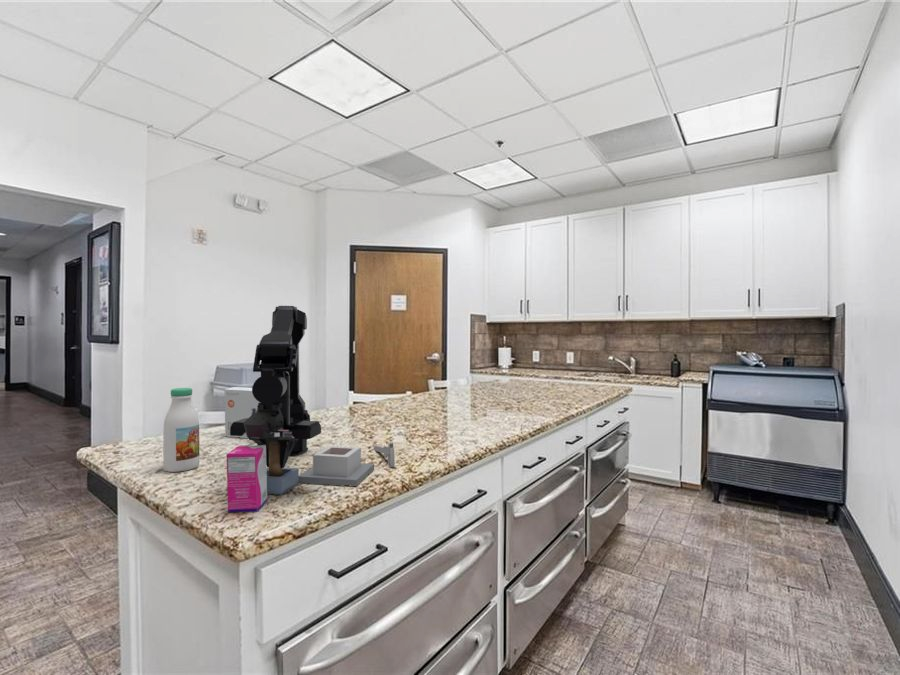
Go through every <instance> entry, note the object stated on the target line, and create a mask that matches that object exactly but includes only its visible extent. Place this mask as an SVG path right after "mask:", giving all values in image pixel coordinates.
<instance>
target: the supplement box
mask: <svg viewBox="0 0 900 675" xmlns="http://www.w3.org/2000/svg"><path fill="white" fill-rule="evenodd" d="M267 468H268V467H267V465H266V445H257V444H256V445H237V446H236V447H235V448H233V449H232V450H231V451H229V452H227V453H226V483H227V484H226V485H227V486H226V487H227V494H226V495H227V512H228V513H245V512H246V513H247V512H248V513H251V512H252V511H253V513H254V512H255V511H256V512H257V511H258V512H259V511H260V510H259V509H261V508H262V507H263V506H264V505H265V504H266V502H268V494H267ZM256 512H255V513H256Z"/></svg>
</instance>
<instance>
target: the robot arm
mask: <svg viewBox="0 0 900 675" xmlns="http://www.w3.org/2000/svg"><path fill="white" fill-rule="evenodd" d="M271 314H272V315H271V316H272V318H271V330H270V332H269V333H267V334H264V335H263V336H261V339H260V341H259V344H257V345H256V347H255V355H254V361H253V367H252V372H253V373H260V377H258V378H257V379H256V380H255V381H254V383H253V384H252V387H251V388H252V393H253V396H254V398H255V399H256V400H257V401H259V402H260V403H258V406H257V412H256V413H254V414H253V415H251V416H250V417H249V418H245V419H241V420H238V421H235V422H233V423H232V425H231V426H230V436H243V435H244V434H245V433H246V435H247V437H248V440H249V441H253V442H254V443H255V444H256V445H266V467H267V468H269V438H270V437H274V435H275V432H276V433H280V437H282V438H280V439H278V442H279V444H280V468H286V467H285V466H286V465H287V462H288V460H289V457H290V456H299V455H301V454H302V453H304V452H306V451H308V450H309V447H308V440H310V439H313V438H314V437H316V436H318V435H320V434H322V426H321V424H320V422H319V421H318V420H311V415H310V414H309V412H308V410H307V409H306V402H305V400H304V399H303V397H302V396H301V394H300V351H299V350H300V343H301V341H302V339H303V338H304V337H305V334H306V332H305V331H306V330H307V328H308V317H307V314H306V312H305V311H302V310H300V309H298V307H297V306H294V305H278V306H275V308H274V311H273V312H272V313H271Z"/></svg>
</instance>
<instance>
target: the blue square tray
mask: <svg viewBox="0 0 900 675" xmlns="http://www.w3.org/2000/svg"><path fill="white" fill-rule="evenodd" d="M299 469H300V468H296V467H284V468H282V476H281V477H274V476H269V467H267V495H271V494H275V495H274V496H283V495H285V494H286V493H288V492H289V491H291V490H292V489H294V488H295V487H296V486H298V485H299V484H300V483H299V475H300V473H299V472H300V470H299ZM297 484H298V485H297ZM294 486H295V487H294ZM291 488H292V489H291ZM288 490H289V491H288ZM284 493H285V494H284Z"/></svg>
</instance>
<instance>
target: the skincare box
mask: <svg viewBox="0 0 900 675" xmlns="http://www.w3.org/2000/svg"><path fill="white" fill-rule="evenodd" d="M258 403H260V402H259V401H257V400H256V399H255V398H254V396H253V393H252V387H243V386H237V387H236V386H232V387H229V388H225V389H224V428H225V430H224V434H225V436H227V437H226V438H235V437H240V438H239V439H247V438H248V437H247V435H246V433H245V434H244V435H243V436H230V426H231V425H232V423H233V422H235V421H238V420H241V419H245V418H249V417H250V416H251V415H253V414H254V413H256V412H257V406H258ZM277 436H279V437H280V433H276V432H275V435H274V437H277Z"/></svg>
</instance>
